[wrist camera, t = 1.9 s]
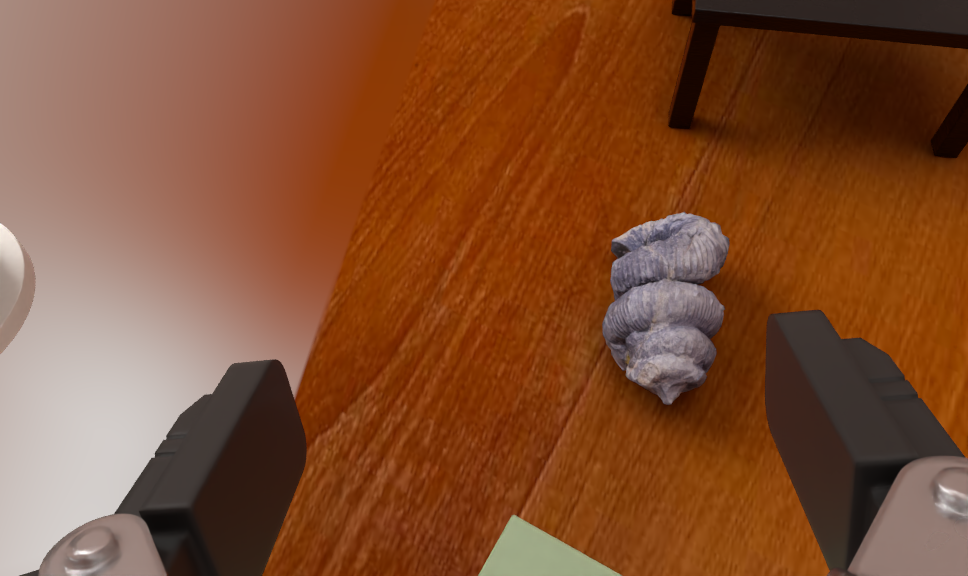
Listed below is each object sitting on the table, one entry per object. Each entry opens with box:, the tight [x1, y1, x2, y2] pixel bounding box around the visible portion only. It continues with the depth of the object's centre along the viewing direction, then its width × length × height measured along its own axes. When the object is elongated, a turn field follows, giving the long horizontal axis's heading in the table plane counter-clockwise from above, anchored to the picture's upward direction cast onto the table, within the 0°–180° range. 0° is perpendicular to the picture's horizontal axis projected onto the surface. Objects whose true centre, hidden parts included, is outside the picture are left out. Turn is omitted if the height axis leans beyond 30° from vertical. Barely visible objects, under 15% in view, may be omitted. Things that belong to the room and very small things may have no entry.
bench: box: [668, 0, 968, 158], centre depth 42 cm, size 16×12×10 cm
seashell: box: [602, 212, 729, 405], centre depth 34 cm, size 5×5×10 cm
